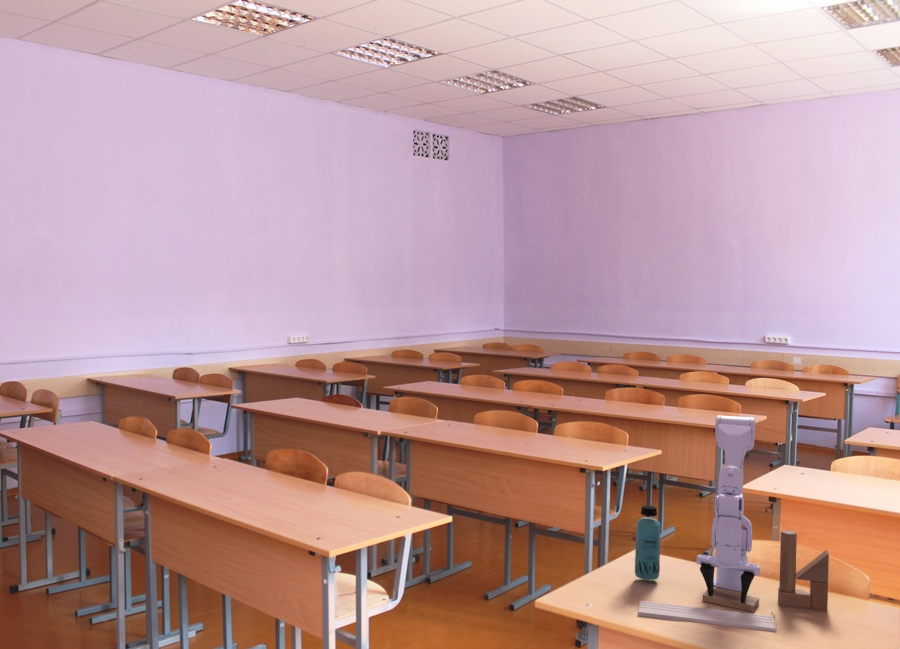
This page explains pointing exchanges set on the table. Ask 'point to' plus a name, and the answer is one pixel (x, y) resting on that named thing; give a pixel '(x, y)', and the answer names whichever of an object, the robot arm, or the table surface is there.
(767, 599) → the table surface
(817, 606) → the wooden block
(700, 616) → the baseboard
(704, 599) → the plank
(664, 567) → the table surface
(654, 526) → the beverage bottle
